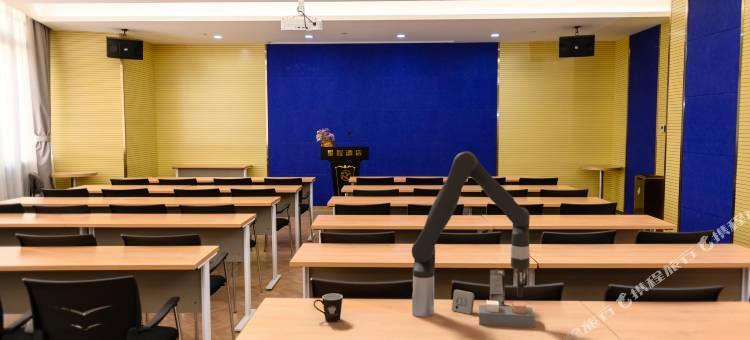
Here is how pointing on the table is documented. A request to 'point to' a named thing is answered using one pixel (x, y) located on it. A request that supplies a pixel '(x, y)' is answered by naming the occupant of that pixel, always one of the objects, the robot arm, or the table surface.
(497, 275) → the coffee box
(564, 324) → the table surface
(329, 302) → the coffee mug
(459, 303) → the electrical switch
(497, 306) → the key white
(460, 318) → the table surface
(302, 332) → the table surface
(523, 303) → the key terracotta
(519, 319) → the grey long rectangular block
